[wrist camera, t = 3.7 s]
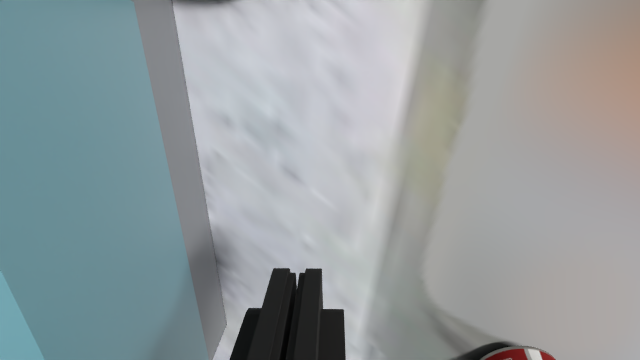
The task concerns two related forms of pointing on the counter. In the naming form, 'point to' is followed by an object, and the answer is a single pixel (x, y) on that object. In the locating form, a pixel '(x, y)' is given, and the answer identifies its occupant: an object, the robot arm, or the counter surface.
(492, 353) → the soda can
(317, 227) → the counter surface
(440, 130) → the counter surface
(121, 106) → the panel
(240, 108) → the counter surface
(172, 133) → the cable duct
